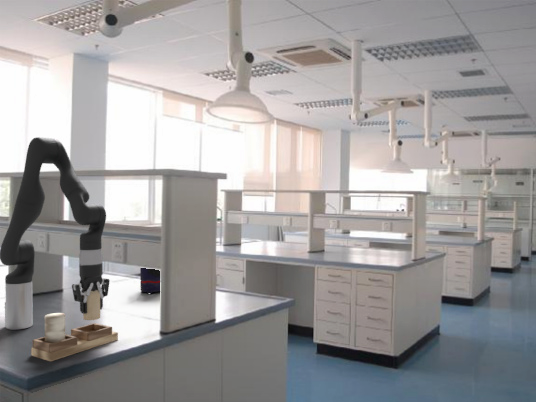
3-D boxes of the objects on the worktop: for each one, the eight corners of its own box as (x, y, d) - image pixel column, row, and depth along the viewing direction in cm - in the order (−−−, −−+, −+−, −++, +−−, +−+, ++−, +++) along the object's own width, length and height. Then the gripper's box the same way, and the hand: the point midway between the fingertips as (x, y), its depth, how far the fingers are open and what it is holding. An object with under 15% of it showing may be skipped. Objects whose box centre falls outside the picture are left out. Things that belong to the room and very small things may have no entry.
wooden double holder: (31, 355, 156) (30, 316, 156) (99, 335, 178) (98, 300, 178) (50, 361, 151) (50, 320, 151) (117, 339, 173) (117, 304, 173)
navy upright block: (168, 292, 253) (168, 233, 253) (147, 295, 245) (147, 235, 245) (155, 288, 264) (154, 232, 263) (134, 291, 256) (134, 233, 255)
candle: (92, 321, 166) (92, 291, 166) (79, 319, 168) (79, 290, 168) (103, 317, 171) (103, 288, 171) (91, 315, 173) (90, 287, 173)
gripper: (100, 259, 177) (101, 305, 177) (65, 264, 165) (66, 314, 165) (115, 260, 173) (115, 308, 173) (80, 266, 161) (80, 317, 161)
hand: (91, 311), depth 169 cm, fingers closed on candle, 5 cm apart
